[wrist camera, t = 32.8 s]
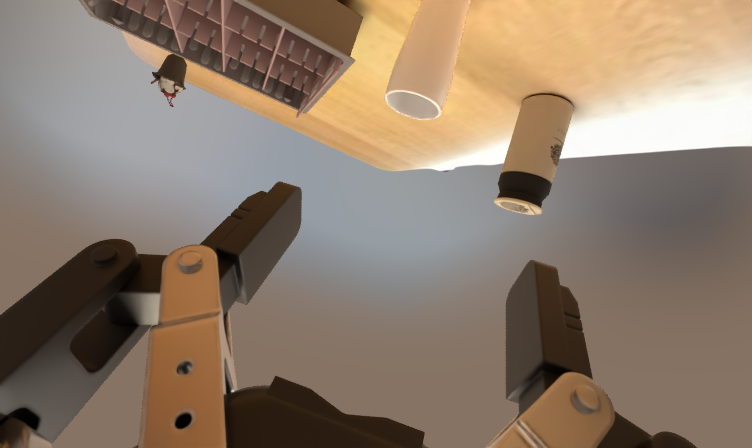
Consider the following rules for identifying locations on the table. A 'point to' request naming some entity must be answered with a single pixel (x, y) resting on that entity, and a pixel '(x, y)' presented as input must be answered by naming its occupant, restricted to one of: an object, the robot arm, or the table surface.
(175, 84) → the sundae
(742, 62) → the table surface
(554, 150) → the travel mug
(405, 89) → the drinking glass
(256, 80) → the organizer tray
